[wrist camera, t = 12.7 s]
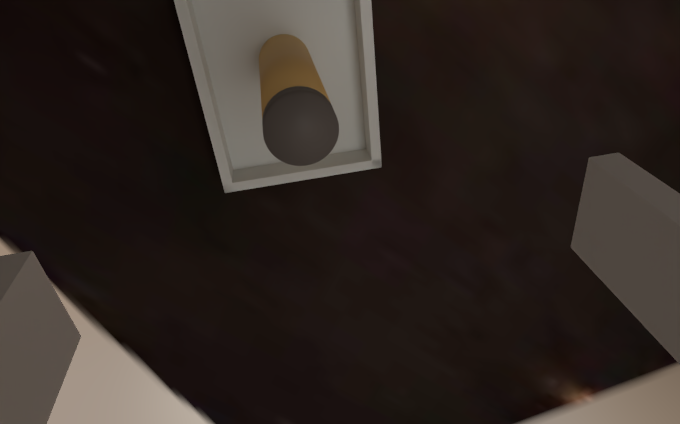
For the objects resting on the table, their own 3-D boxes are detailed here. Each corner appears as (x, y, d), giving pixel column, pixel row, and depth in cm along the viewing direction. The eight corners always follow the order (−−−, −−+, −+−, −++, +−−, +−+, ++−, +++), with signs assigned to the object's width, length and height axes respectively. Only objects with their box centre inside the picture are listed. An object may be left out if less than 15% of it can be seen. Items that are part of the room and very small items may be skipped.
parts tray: (164, -66, 25) (156, -65, 23) (356, -90, 25) (365, -90, 23) (226, 175, 32) (224, 192, 30) (373, 151, 33) (381, 167, 31)
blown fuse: (255, 36, 27) (258, 97, 18) (308, 32, 28) (337, 90, 18) (262, 88, 29) (267, 169, 20) (312, 83, 29) (340, 161, 20)
